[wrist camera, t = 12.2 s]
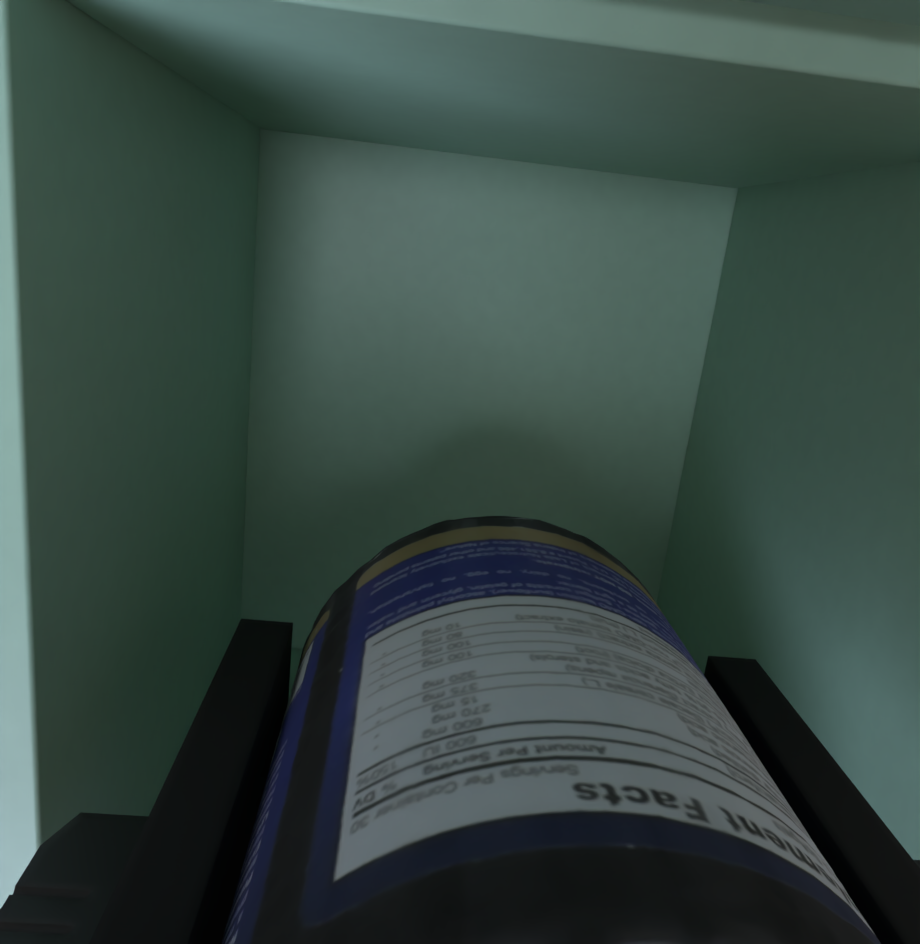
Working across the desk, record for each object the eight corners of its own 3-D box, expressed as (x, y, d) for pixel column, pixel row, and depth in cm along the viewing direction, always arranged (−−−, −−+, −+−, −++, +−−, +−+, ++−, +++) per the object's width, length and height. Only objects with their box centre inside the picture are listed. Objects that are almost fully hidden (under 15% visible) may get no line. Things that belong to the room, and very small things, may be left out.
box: (655, 685, 25) (889, 1141, 13) (218, 652, 24) (-6, 1110, 12) (761, 161, 21) (1281, 50, 8) (235, 94, 20) (-91, -149, 7)
